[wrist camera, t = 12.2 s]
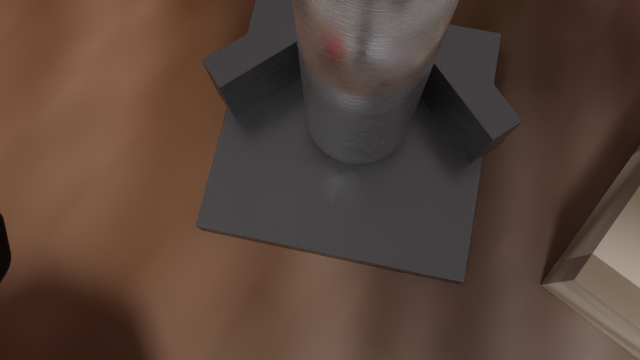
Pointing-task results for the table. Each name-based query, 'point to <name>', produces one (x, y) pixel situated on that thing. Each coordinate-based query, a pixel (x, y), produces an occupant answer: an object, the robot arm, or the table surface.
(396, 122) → the axle
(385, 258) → the V-block
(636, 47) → the table surface
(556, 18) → the table surface
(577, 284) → the block with rectangular hole
